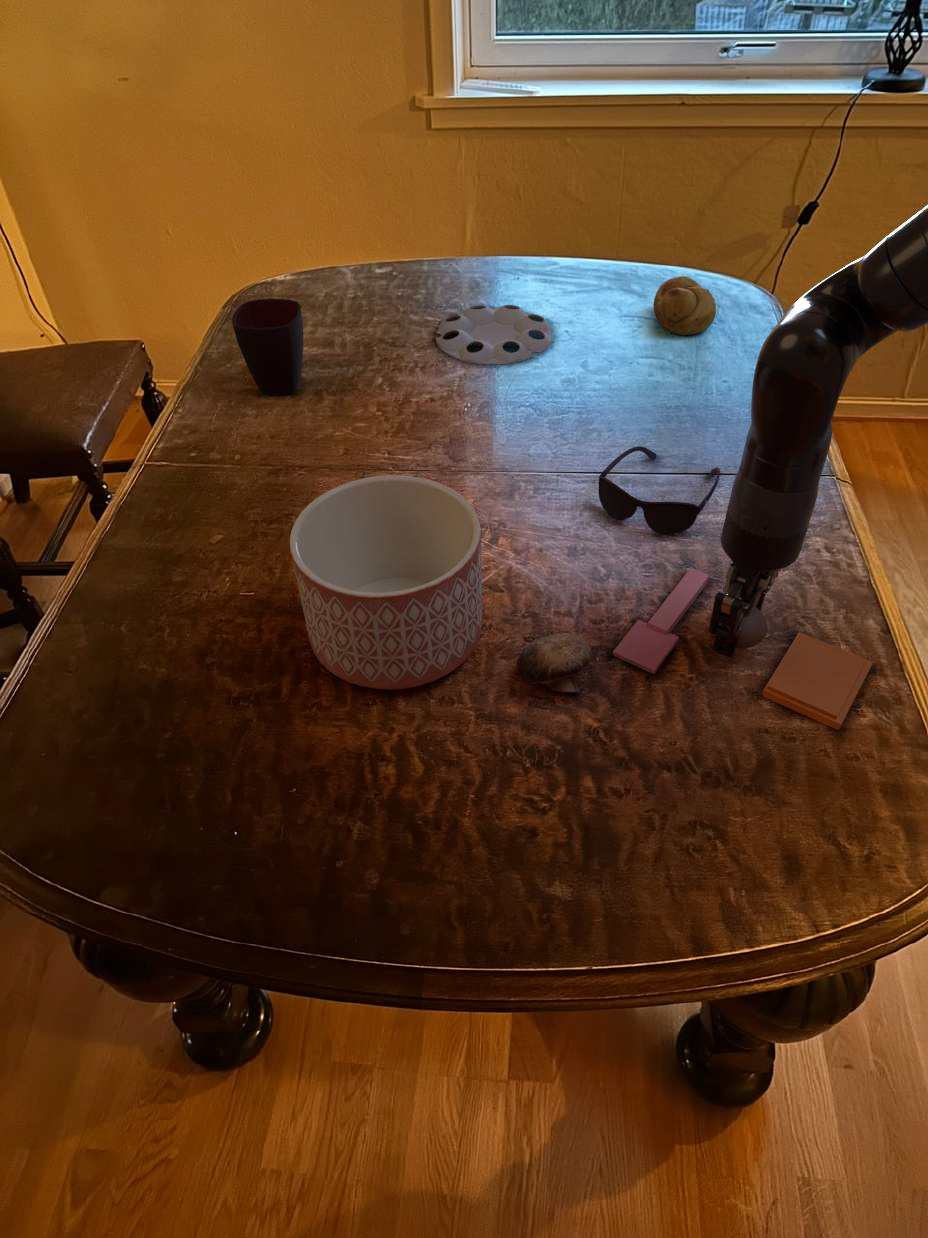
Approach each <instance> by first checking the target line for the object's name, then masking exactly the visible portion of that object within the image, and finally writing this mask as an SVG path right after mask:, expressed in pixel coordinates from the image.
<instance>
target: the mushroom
mask: <svg viewBox="0 0 928 1238" xmlns="http://www.w3.org/2000/svg"><path fill="white" fill-rule="evenodd" d="M592 660H593V651H592V648H591V646H590V644H589V642H588V641H587V640H586V639H585V638H583V637H581V636H579V635H576V634H572V633H568V632H556V633H553V634H549V635H545V636H543V637H540V638H537V639H536V640H534V641H533V642H531V643H530V644H528V645H526V647H525V648H523V650H522V652H520V654H519V656H518V658H517V662H516V672H517V675H518V678H519V679H520V680H521V681H522V682H523V683H525V684H544V685H546V686H547V687H548V689H549V690H551V691H554V692H559V693H560V692H561V693H580V692H581V689H579V687H578V685H577V683H576V678H575V676H576V675H577V674H579V673H580V672H582V671H584V670H585V669H586V668H587V667H588V666H589V664H590V663H591V662H592Z"/></svg>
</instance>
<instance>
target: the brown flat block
mask: <svg viewBox="0 0 928 1238" xmlns="http://www.w3.org/2000/svg"><path fill="white" fill-rule="evenodd" d="M873 664H874V662H873V661H870V660H868V659H866V658H864V657H862V656H859V655H857V654H854V653H851V652H849V651H847V650H844V649H841V648H839V647H837V646H834V645H832V644H829V643H828V642H825V641H822V640H820V639H817V638H815V637H813V636H811V635H807V634H805V633H802V632H800V631H799V632H798V633H797V634H796V636H795V638H794V639H793V641H792V642H791V644H790V646H789V647H788V649H787V651H786V652H785V654H784V655H783V657H782V659H781V661H780V662H779V664H778V666H777V667H776V669H775V670H774V672H773V673H772V676H771V677H770V679H769V680H768V682H767V683H766V685H765V687H764V688H763V689H762V694H761V697H763V698H765V699H768V700H770V701H772V702H774V703H776V704H779V705H781V706H783V707H785V708H787V709H790V710H792V711H794V712H797V713H799V714H801V715H803V716H804V717H805V716H806V717H808V718H810V719H812V720H813V721H816V722H818V723H821V724H824V725H825V726H828V727H830V728H832V729H835V730H837V731H839V730H840V729H841V727H842V725H843V723H844V721H845V719H846V717H847V716H848V713H849V711H850V709H851V708H852V705H853V703H854V702H855V700H856V697H857V696H858V693H859V692H860V690H861V689H862V686H863V685H864V682H865V681H866V678H867V676H868V674H869V672H870V670H871V668H872V666H873Z"/></svg>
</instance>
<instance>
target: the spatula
mask: <svg viewBox="0 0 928 1238" xmlns="http://www.w3.org/2000/svg"><path fill="white" fill-rule="evenodd" d="M709 578H710V574H708V573H705V572H702V571H700V570H697V569H695V568H692V567H690V568H689V569H688V570H687V572H686V573H685V574H684V576H683V577H682V578H681V580H680V581H679V582H678V583H677V585H676V586H675V587H674V588H673V590H672V591H671V592H670V593H669V595H668V596H667V598H665V600H664V601H663V602H662V604H661V605H660V606H659V607H658V609H657V610H656V611H655V613H654V614H653V615H652V617H651V618H650V619H649V620H648V622H645V621H643V620H641V619H638V620H637V621H636V622H635V623H634V624H633V626H632V627H631V628H630V629H629V631H628V632H627V633H626V635H625V636H624V637H623V638H622V640H621V641H620V642H619V643H618V644H617V646H615V648H614V649H613V651H612V656H613V657H615V658H617V659H619V660H622V661H624V662H626V663H628V664H630V665H633V666H635V667H637V668H639V669H641V670H643V671H646V672H647V673H650V674H651V675H655V674H656V672H658V669H660V667H661V665H662V664H663V662H665V660H666V659H667V657H668V656H669V655H670V653H671V652H672V650H673V649H674V647H675V646H676V645H677V643H678V642H679V640H680V637H679V636H678V635H675V634H673V633H672V631H673V630H674V628H675V627H676V626H677V624H678V623H679V621H680V620H681V619H682V618H683V616H684V615H685V614H686V612H687V611H688V610H689V609H690V607H691V606H692V605H693V603H694V602H695V600H696V599H697V598H698V596H699V595H700V593H702V591H703V590H704V588H705V587H706V586H707V584H708V583H709Z"/></svg>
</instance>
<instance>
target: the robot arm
mask: <svg viewBox="0 0 928 1238" xmlns="http://www.w3.org/2000/svg"><path fill="white" fill-rule="evenodd" d="M926 325H928V204H927V205H926V206H925V207H923V208H921V210H919V211H918V212H916V213H915V214H914V215H913V216H911V217H910V218H909V219H907V220H906V221H905V222H903V223H902V224H901V225H900V226H899V227H897V228H896V229H894V230H893V231H892V232H890V234H888V235H886V236H885V237H884V238H883V239H882V240H880V242H879V243H877V244H876V245H875V246H874V247H873V248H872V249H871V250H870V251H868V252H867V253H866V254H865V255H864V256H862V257H859V258H858V259H856V260H854V261H853V262H851V263H849V264H847V265H845V267H843V268H841V269H839V270H838V271H836V272H835V273H833V274H831V275H829V276H828V277H827V278H825V279H823V280H821V282H819V283H818V284H816V285H815V286H814V287H812V288H811V289H809V290H808V291H807V292H805V294H803V295H802V296H801V297H800V298H798V299H797V300H796V301H795V302H794V303H793V304H792V305H791V306H789V308H788V309H787V310H786V312H785V313H784V314H783V315H782V317H781V318H780V319H779V321H778V322H777V324H776V325H775V326H774V328H772V330H771V332H770V333H769V334H768V336H767V337H766V339H765V340H764V342H763V344H762V346H761V348H760V351H759V354H758V357H757V361H756V364H755V368H754V373H753V377H752V378H753V379H752V386H751V403H750V404H751V405H750V421H751V422H750V425H749V427H748V428H749V429H748V430H747V431H748V432H747V435H746V439H745V442H744V447H743V452H742V456H741V459H740V464H739V467H738V471H737V472H736V474H735V477H734V479H733V483H732V487H731V492H730V495H729V500H728V504H727V509H726V513H725V518H724V522H723V527H722V530H721V536H720V544H721V548H722V550H723V552H724V553H725V554H726V556H727V557H728V558H729V559H730V561H731V562H730V564H729V566H728V568H727V571H726V573H725V579H726V581H725V584H724V586H723V589H722V591H721V590H718V592H717V593H715V595H714V602H713V608H712V612H711V614H712V618H711V624H710V625H709V630H708V633H709V634H712V635H713V634H714V635H716V636H715V637H714V641H713V645H712V650H713V652H715V653H717V654H719V655H721V656H723V657H725V658H729V659H730V658H732V657H733V656H734V655H735V653H736V651H737V649H736V647H737V643H738V640H739V636H740V633H741V632H742V630H743V629H742V628H743V625H744V623H745V620H746V617H749V616H750V615H751V614H753V613H754V611H755V609H756V608H758V609H759V610H760V611H761V612H762V608H763V605H764V602H765V598H766V594H768V592H770V591H771V588H772V586H773V584H774V582H775V580H776V578H778V577H779V574H780V573H779V572H780V570H783V569H785V568H788V567H789V566H791V565H793V564H794V563H795V562H796V561H797V560H798V558H799V556H800V554H801V551H802V547H803V544H804V541H805V538H806V535H807V533H808V528H809V526H810V522H811V519H812V515H813V513H814V510H815V506H816V503H817V498H818V493H819V485H820V480H821V477H822V473H823V470H824V466H825V465H826V461H827V457H828V454H829V451H830V447H831V444H832V439H833V424H832V421H833V418H834V414H835V411H836V408H837V405H838V402H839V399H840V396H841V394H842V392H843V390H844V386H845V384H846V382H847V380H848V377H849V375H850V373H851V372H852V370H853V369H854V367H855V365H856V364H857V361H858V360H859V359H860V358H861V357H862V356H863V355H864V354H865V353H867V352H868V351H870V350H871V349H872V348H873V347H875V346H877V345H878V344H880V342H882V341H884V340H886V339H887V338H889V337H890V336H892V335H894V334H895V333H897V332H911V331H915V330H918V329H920V328H922V327H924V326H926ZM743 602H747V603H749V605H745V604H743ZM714 635H713V636H714Z"/></svg>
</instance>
